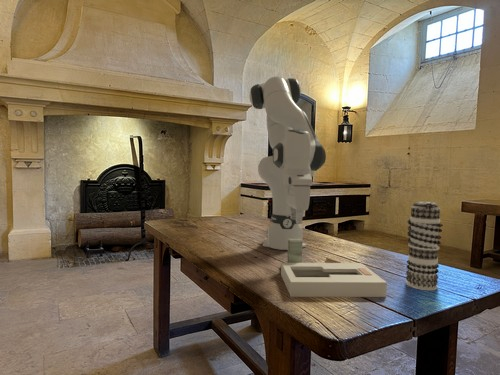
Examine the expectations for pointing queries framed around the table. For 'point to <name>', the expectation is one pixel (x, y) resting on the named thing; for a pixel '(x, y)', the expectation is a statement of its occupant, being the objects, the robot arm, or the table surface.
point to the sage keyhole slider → (294, 251)
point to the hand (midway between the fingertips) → (296, 221)
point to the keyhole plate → (332, 280)
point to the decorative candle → (423, 246)
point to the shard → (331, 261)
